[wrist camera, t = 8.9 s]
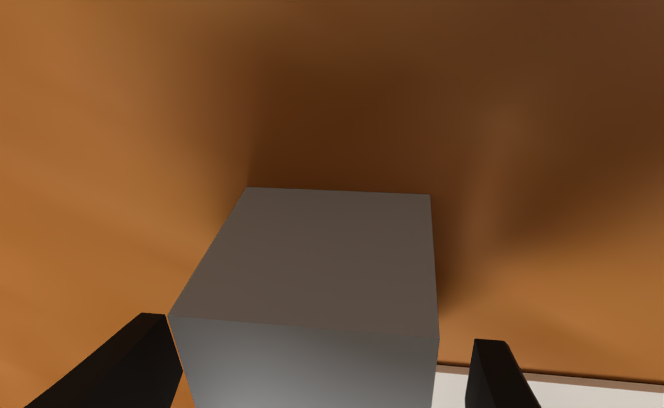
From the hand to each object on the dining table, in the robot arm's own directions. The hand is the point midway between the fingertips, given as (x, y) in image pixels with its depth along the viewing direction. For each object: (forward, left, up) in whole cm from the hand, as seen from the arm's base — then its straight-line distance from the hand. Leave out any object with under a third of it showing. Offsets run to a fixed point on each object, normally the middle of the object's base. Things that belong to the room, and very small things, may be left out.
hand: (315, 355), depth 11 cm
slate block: (0, 0, -4) cm, 4 cm away
